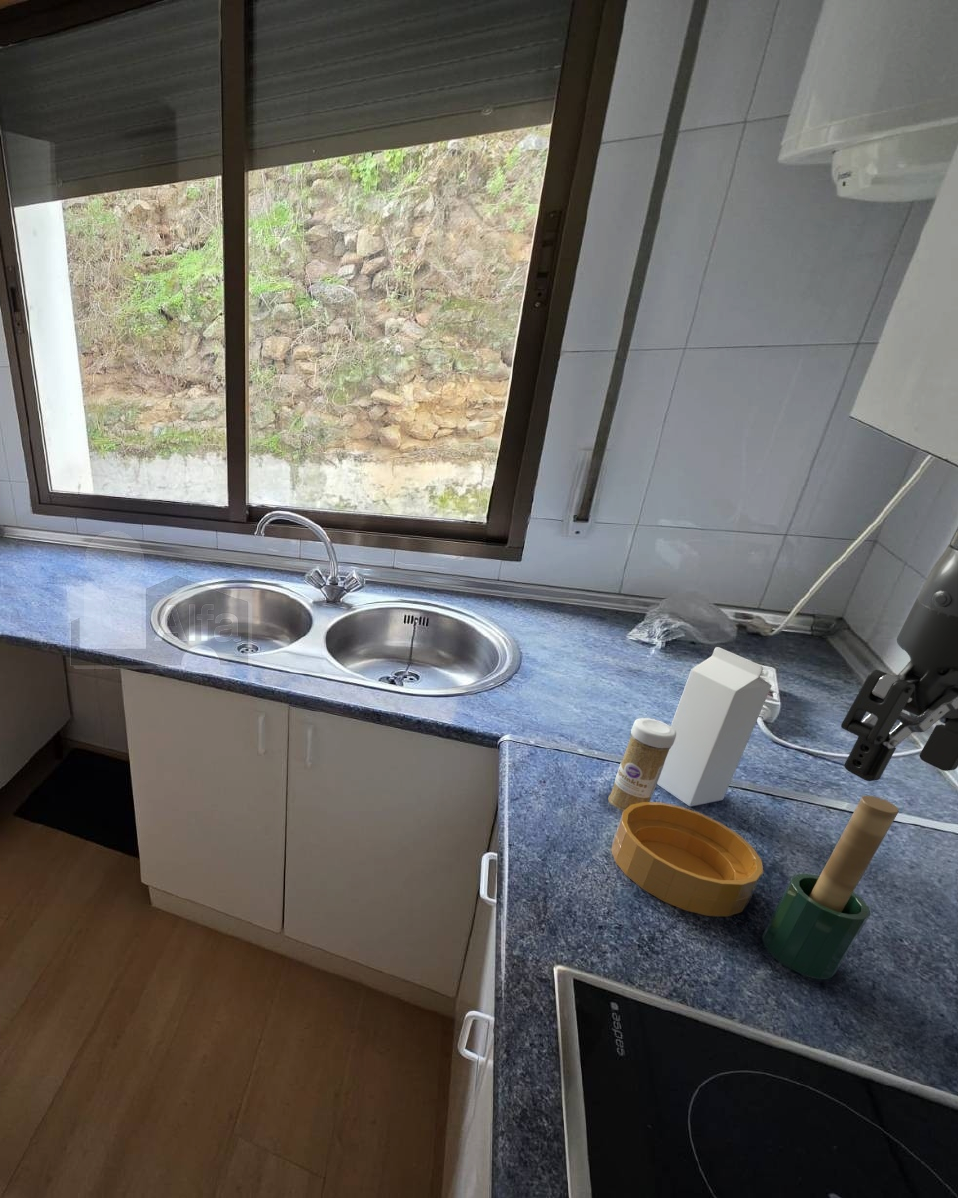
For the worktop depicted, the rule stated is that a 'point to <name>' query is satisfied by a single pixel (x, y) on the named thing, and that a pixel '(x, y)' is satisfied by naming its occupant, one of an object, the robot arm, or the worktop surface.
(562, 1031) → the worktop surface
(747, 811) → the worktop surface
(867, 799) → the stick
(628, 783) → the sprinkles bottle
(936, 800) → the worktop surface
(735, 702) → the milk
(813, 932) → the utensil pot
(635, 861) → the bowl
